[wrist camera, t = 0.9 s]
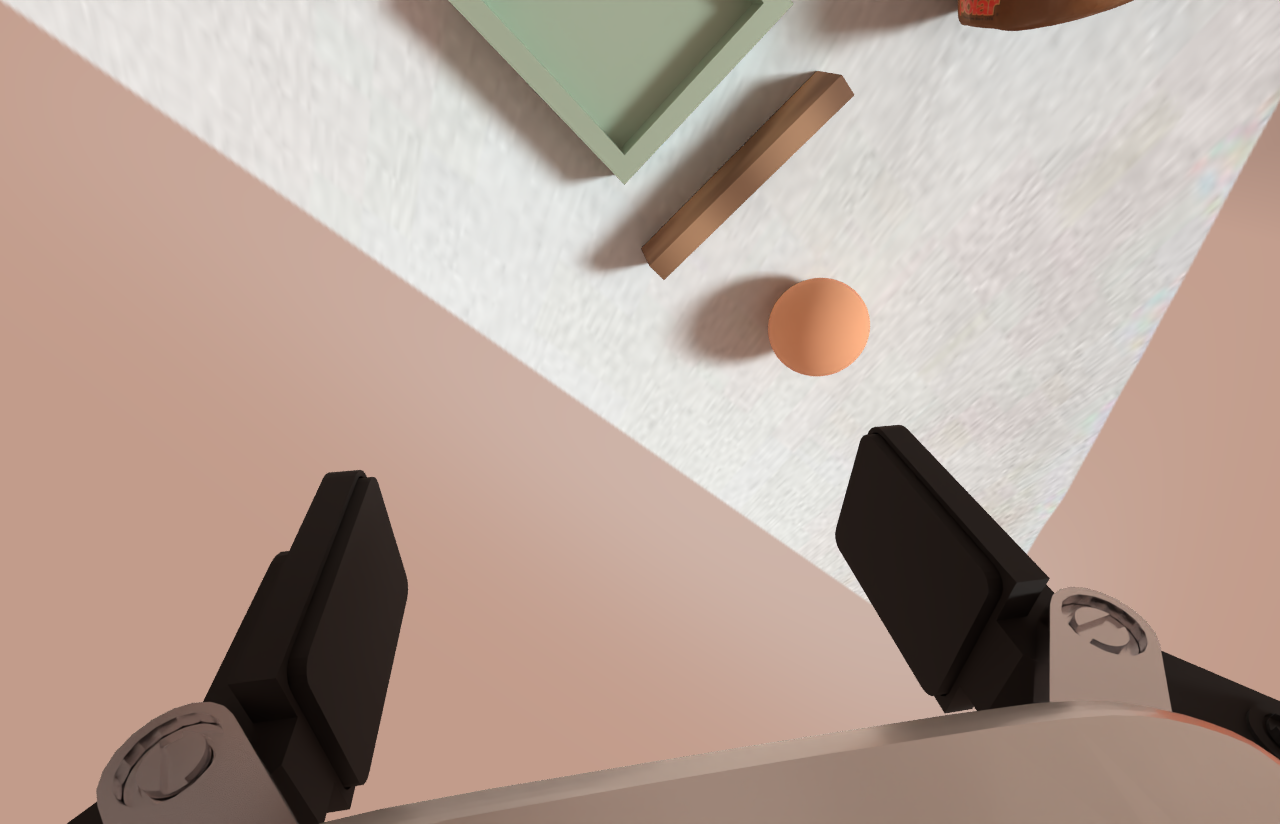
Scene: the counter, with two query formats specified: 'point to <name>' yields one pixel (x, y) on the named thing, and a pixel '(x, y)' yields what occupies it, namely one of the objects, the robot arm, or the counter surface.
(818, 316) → the ball
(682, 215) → the rail
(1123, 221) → the counter surface
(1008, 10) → the tin
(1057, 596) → the robot arm
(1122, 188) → the counter surface
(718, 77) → the tray
